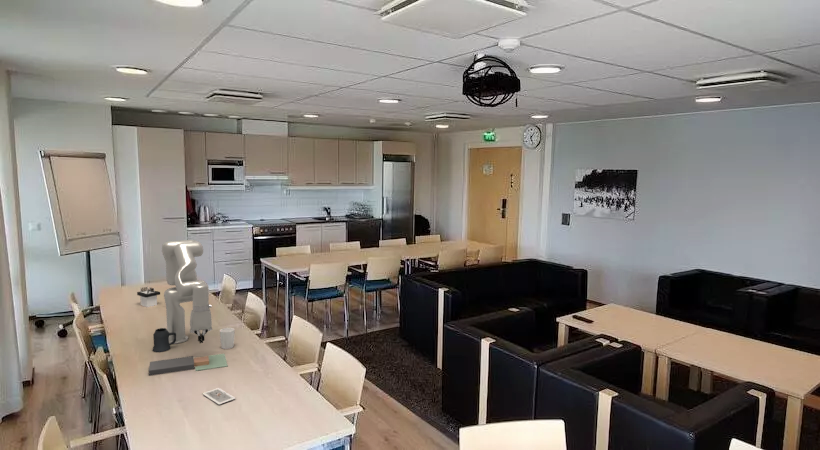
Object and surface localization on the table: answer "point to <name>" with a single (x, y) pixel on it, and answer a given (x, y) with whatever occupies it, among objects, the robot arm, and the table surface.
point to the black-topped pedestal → (148, 297)
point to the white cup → (227, 338)
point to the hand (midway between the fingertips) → (201, 342)
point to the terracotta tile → (201, 361)
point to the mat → (214, 362)
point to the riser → (171, 365)
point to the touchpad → (218, 396)
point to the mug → (162, 340)
